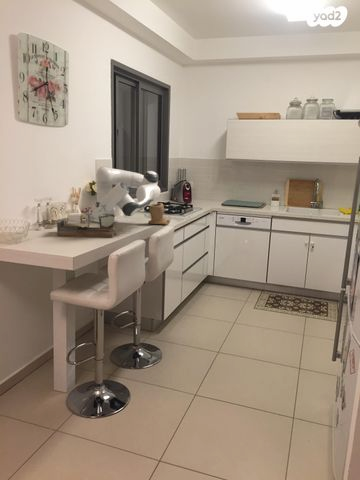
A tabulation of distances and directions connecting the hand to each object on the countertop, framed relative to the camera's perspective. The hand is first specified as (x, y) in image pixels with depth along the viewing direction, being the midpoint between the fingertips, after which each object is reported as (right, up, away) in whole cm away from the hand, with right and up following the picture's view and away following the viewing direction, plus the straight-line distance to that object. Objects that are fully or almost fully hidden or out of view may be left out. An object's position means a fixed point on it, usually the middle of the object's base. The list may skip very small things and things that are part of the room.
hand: (90, 220), depth 246 cm
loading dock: (-2, -9, +2) cm, 9 cm away
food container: (+5, -5, +20) cm, 21 cm away
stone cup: (+39, -1, +47) cm, 61 cm away
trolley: (-7, -5, +1) cm, 9 cm away
